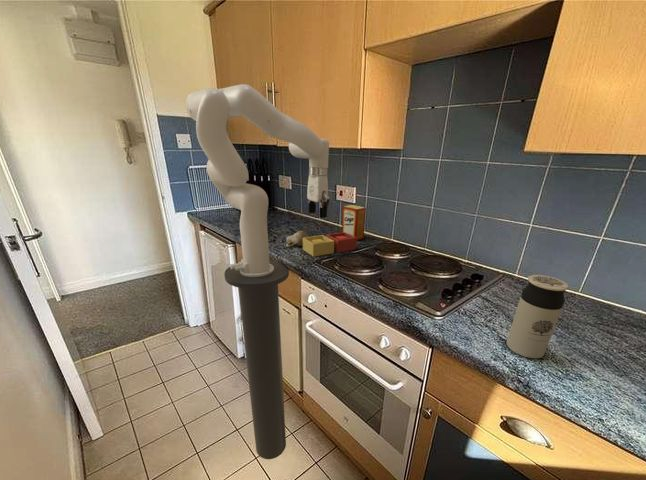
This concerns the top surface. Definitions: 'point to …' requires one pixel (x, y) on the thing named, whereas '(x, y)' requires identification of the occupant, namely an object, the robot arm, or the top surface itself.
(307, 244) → the yellow bin
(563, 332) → the top surface
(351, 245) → the red bin
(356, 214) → the baking soda box
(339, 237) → the red block
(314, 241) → the yellow block
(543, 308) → the travel mug
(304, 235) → the beige animal figurine
